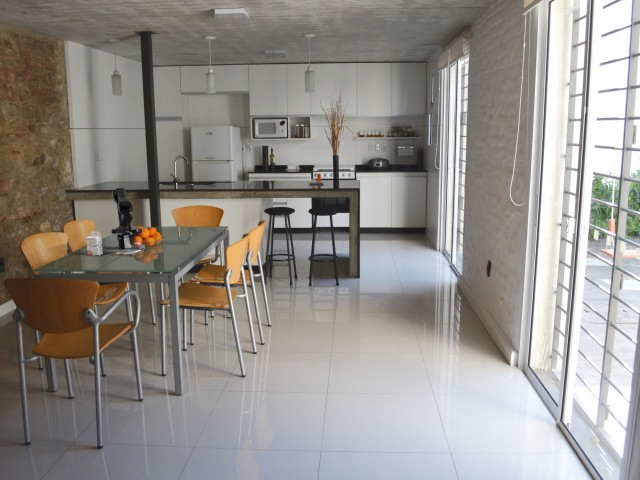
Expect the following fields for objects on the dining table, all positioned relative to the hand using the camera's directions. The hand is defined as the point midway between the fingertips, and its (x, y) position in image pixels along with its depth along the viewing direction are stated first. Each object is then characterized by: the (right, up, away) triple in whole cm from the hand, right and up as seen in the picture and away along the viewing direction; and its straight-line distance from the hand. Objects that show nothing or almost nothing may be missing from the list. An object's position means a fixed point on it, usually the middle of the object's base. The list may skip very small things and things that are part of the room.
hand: (127, 244), depth 386 cm
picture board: (0, -6, +1) cm, 6 cm away
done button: (+3, -1, +12) cm, 12 cm away
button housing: (+3, -4, +12) cm, 13 cm away
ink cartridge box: (-21, -7, 0) cm, 22 cm away
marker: (0, -2, 0) cm, 2 cm away
